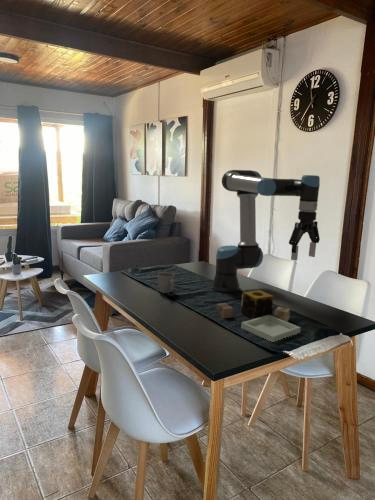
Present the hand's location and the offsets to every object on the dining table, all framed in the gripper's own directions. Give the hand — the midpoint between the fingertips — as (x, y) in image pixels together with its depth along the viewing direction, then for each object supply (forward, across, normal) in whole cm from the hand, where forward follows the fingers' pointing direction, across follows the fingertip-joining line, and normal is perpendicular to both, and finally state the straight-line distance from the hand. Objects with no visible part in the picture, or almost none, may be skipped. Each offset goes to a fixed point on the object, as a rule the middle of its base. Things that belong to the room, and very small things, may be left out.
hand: (303, 258), depth 167 cm
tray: (+25, -28, -7) cm, 39 cm away
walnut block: (+26, -32, +16) cm, 44 cm away
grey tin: (+26, -15, +18) cm, 35 cm away
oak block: (+25, -15, -2) cm, 30 cm away
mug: (+26, -34, +57) cm, 71 cm away
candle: (+26, -20, +8) cm, 33 cm away
